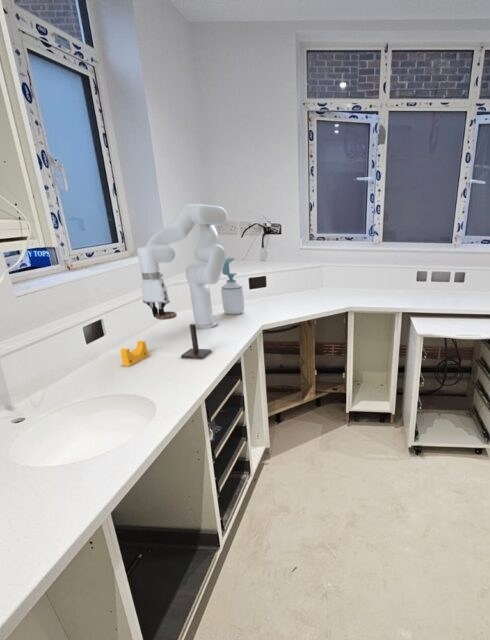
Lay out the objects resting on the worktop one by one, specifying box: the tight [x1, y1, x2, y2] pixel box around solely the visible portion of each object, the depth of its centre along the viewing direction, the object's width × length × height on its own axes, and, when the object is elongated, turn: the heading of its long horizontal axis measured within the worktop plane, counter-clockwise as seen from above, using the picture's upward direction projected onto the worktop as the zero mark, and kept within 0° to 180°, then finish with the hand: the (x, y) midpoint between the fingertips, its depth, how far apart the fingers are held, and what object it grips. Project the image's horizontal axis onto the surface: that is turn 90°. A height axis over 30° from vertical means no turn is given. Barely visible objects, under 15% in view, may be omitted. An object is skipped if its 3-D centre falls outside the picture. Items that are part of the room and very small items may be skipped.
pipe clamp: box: [119, 340, 149, 367], centre depth 162 cm, size 12×4×6 cm, turn 168°
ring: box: [154, 310, 178, 321], centre depth 185 cm, size 9×9×2 cm
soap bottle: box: [220, 257, 245, 316], centre depth 232 cm, size 12×12×31 cm
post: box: [180, 323, 212, 360], centre depth 167 cm, size 9×9×13 cm
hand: (159, 316), depth 186 cm, fingers closed on ring, 2 cm apart
